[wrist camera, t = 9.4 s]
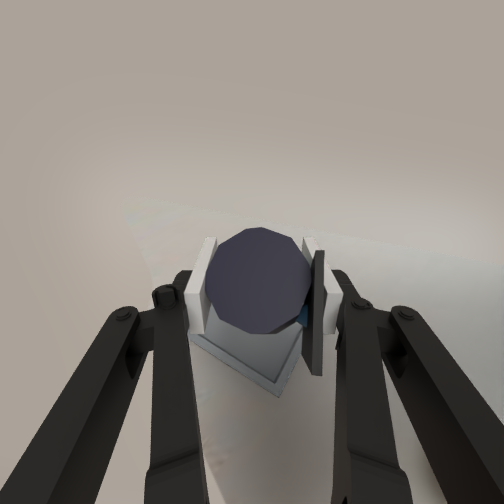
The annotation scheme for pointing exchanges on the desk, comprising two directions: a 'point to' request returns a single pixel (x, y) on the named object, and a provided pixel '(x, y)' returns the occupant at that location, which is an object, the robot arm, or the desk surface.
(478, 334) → the desk surface
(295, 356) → the tray
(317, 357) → the dark cylinder with plate
